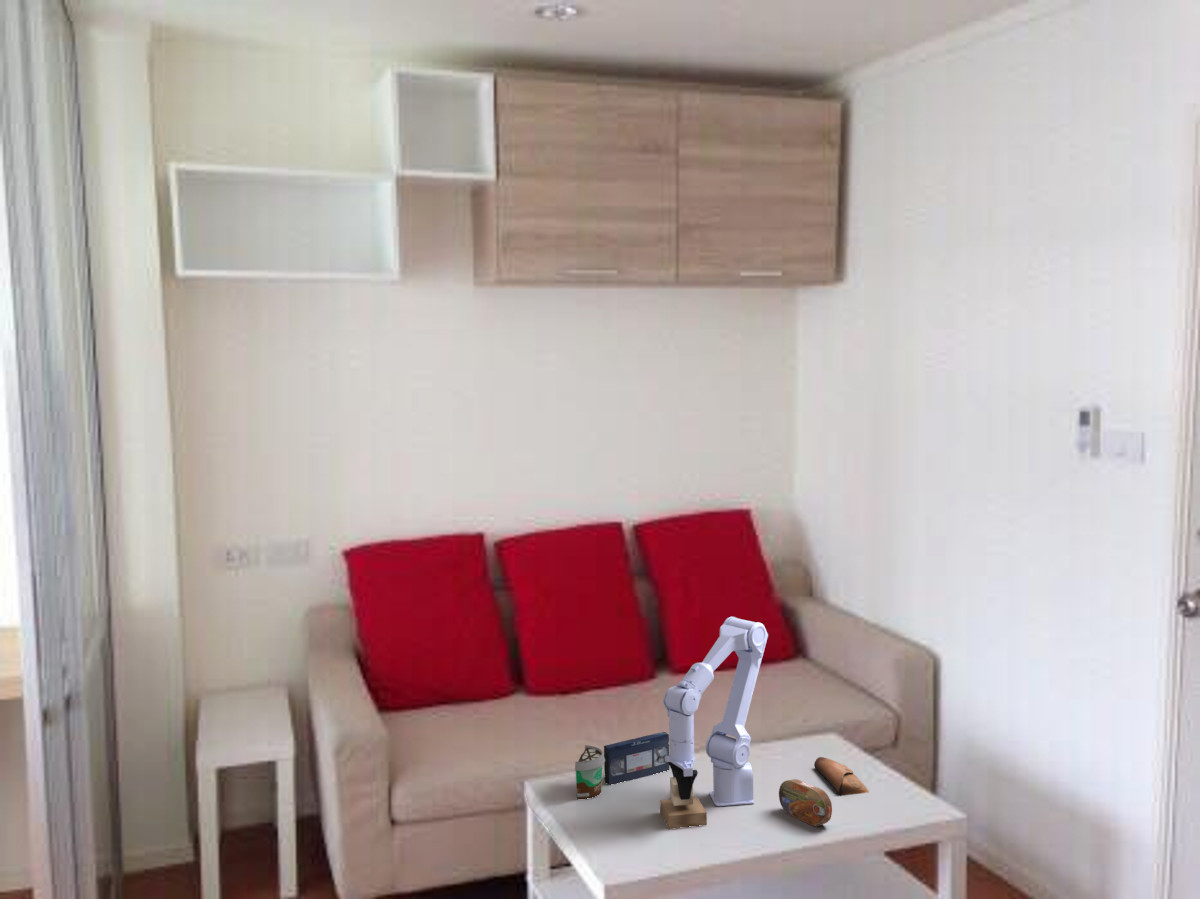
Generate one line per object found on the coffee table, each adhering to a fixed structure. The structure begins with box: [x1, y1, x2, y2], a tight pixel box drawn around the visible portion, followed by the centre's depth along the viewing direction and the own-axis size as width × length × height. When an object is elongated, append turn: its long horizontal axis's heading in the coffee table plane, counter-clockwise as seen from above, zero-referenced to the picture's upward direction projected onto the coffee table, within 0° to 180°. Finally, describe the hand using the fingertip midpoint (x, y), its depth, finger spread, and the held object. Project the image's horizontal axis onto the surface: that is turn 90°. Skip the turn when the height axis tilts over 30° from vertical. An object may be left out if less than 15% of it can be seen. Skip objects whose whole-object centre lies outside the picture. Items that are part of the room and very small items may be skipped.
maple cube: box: [669, 776, 694, 806], centre depth 259 cm, size 4×4×5 cm
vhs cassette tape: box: [603, 731, 671, 786], centre depth 285 cm, size 18×3×10 cm, turn 118°
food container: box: [574, 744, 605, 800], centre depth 276 cm, size 12×6×10 cm, turn 168°
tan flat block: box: [659, 796, 708, 830], centre depth 260 cm, size 9×9×4 cm
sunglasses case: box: [813, 756, 870, 797], centre depth 280 cm, size 18×7×7 cm
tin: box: [778, 778, 833, 827], centre depth 258 cm, size 15×3×8 cm, turn 35°
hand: (682, 794), depth 259 cm, fingers closed on maple cube, 4 cm apart
